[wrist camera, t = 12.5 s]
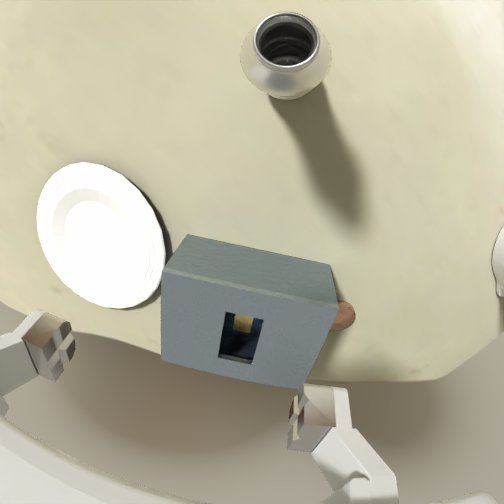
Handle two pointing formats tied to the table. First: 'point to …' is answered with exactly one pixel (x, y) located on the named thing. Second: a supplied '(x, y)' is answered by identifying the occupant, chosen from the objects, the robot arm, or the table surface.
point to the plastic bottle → (286, 55)
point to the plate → (101, 235)
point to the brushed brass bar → (242, 323)
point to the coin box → (245, 311)
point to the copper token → (343, 316)
